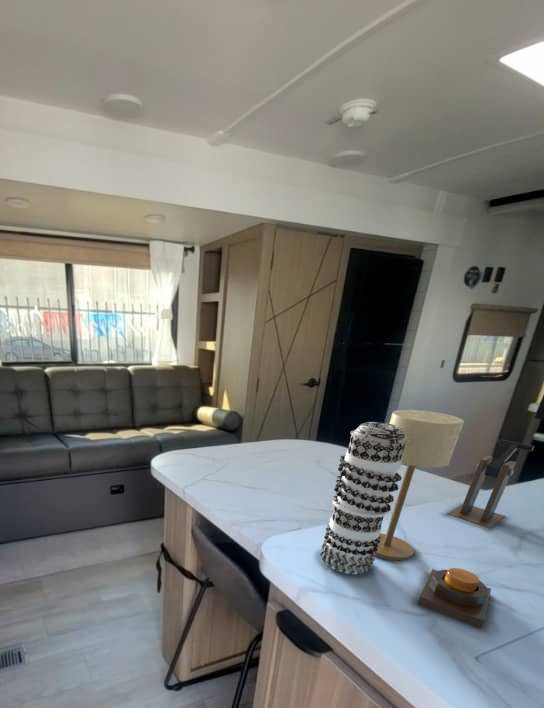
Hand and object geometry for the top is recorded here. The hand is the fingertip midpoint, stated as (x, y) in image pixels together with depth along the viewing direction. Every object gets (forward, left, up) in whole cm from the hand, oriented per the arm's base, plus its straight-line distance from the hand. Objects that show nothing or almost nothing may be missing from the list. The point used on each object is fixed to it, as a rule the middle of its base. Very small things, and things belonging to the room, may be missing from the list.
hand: (543, 418), depth 72 cm
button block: (+15, +27, -24) cm, 39 cm away
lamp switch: (-3, -13, -12) cm, 18 cm away
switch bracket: (0, -9, -24) cm, 26 cm away
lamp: (+22, +13, -24) cm, 35 cm away
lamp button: (+15, +27, -21) cm, 37 cm away
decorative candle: (+30, +21, -25) cm, 44 cm away
